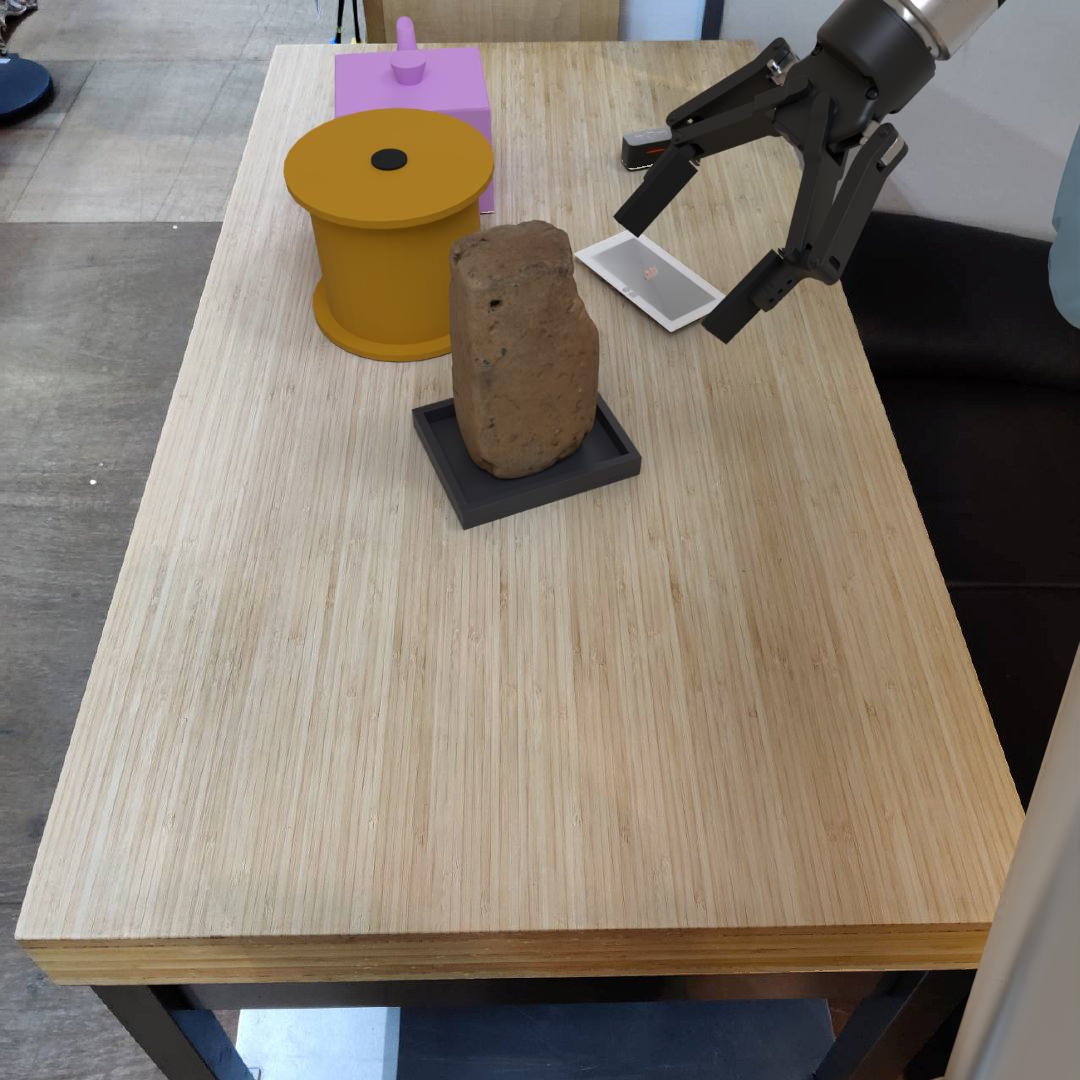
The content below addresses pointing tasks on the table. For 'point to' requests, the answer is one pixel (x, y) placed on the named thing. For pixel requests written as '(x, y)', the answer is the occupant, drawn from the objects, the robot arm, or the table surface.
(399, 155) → the spool
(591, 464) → the dark shallow tray
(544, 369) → the block
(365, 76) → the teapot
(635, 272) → the touchpad
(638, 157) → the dark grey bluetooth speaker
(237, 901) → the table surface
